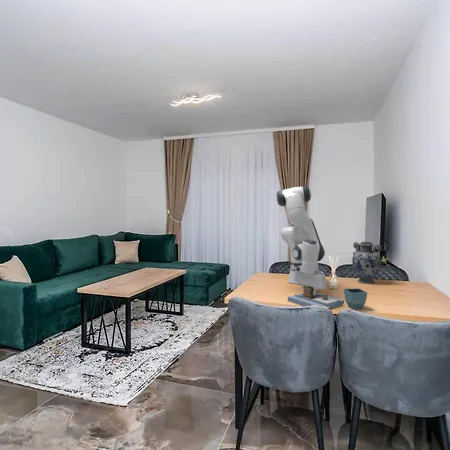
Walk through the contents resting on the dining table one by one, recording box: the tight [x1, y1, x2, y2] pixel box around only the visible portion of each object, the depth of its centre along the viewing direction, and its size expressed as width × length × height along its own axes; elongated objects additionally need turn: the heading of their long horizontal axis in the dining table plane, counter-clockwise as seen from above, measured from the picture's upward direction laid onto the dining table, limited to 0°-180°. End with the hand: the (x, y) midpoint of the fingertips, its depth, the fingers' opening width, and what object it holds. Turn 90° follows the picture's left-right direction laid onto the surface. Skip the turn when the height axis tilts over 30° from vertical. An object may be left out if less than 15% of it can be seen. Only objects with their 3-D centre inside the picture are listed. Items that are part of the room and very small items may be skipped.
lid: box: [313, 293, 338, 304], centre depth 173 cm, size 9×9×3 cm
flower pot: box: [343, 288, 368, 309], centre depth 171 cm, size 9×9×9 cm
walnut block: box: [303, 286, 316, 299], centre depth 182 cm, size 4×4×6 cm
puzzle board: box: [287, 292, 345, 309], centre depth 179 cm, size 20×22×3 cm
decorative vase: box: [351, 241, 382, 285], centre depth 229 cm, size 21×19×28 cm
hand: (309, 293), depth 182 cm, fingers open, 5 cm apart
